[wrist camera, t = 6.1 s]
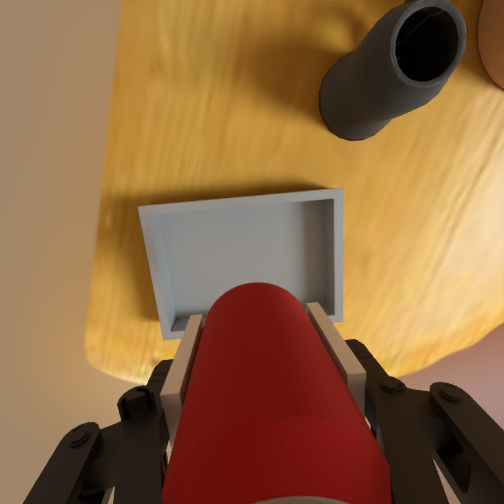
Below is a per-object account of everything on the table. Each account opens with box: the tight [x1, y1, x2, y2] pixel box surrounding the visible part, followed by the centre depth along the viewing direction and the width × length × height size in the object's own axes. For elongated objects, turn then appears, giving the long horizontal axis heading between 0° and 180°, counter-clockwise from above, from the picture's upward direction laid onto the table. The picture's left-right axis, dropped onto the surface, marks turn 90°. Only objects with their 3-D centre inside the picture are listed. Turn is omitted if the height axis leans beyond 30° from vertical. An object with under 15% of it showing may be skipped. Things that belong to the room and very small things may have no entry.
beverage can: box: [162, 282, 394, 504], centre depth 11 cm, size 7×7×12 cm
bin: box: [138, 188, 343, 340], centre depth 31 cm, size 16×22×4 cm
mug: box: [319, 0, 466, 141], centre depth 23 cm, size 12×9×11 cm
